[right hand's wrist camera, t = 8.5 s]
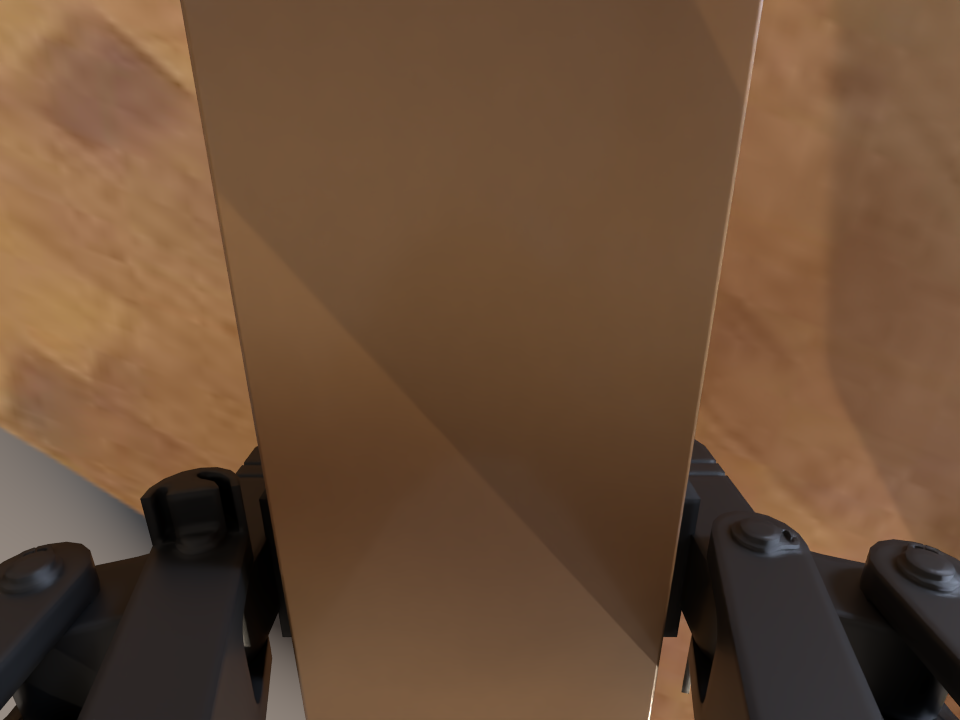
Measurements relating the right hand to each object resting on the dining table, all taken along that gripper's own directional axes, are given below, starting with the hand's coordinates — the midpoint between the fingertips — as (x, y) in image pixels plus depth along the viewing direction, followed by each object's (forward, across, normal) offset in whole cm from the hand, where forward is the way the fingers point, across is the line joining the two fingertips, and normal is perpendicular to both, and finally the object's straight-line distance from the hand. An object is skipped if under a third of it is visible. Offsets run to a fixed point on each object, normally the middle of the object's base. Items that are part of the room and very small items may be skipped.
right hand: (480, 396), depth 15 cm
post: (+1, 0, -23) cm, 23 cm away
